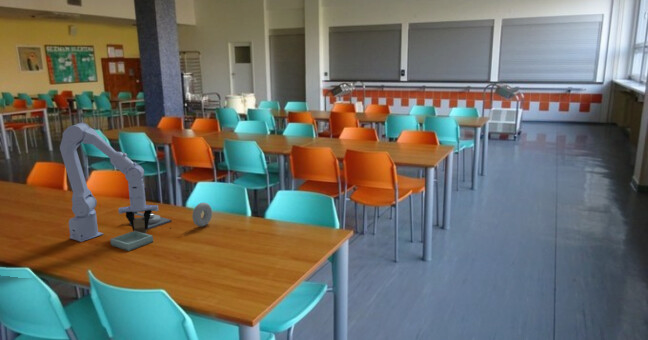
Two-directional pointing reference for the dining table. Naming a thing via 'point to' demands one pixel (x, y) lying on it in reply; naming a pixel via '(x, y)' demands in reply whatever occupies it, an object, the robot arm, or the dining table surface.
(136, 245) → the tray
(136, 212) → the crank
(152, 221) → the crank base
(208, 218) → the donut
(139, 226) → the block
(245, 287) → the dining table surface
